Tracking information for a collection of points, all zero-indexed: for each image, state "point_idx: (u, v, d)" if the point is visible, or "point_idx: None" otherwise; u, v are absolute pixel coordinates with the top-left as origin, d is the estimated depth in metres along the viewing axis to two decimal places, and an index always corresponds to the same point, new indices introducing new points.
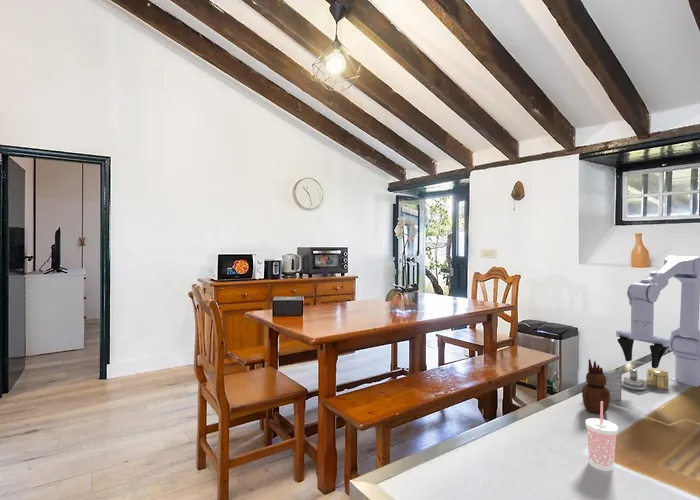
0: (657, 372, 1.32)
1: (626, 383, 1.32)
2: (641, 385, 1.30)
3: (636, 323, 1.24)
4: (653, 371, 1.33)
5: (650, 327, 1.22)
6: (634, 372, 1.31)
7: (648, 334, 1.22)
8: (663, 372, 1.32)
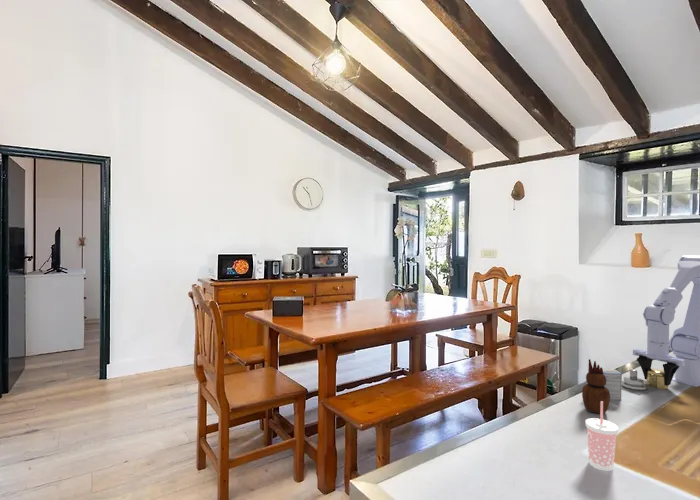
0: (657, 372, 1.32)
1: (626, 383, 1.32)
2: (641, 385, 1.30)
3: (652, 343, 1.32)
4: (653, 371, 1.33)
5: (666, 348, 1.30)
6: (634, 372, 1.31)
7: (664, 353, 1.30)
8: (663, 372, 1.32)
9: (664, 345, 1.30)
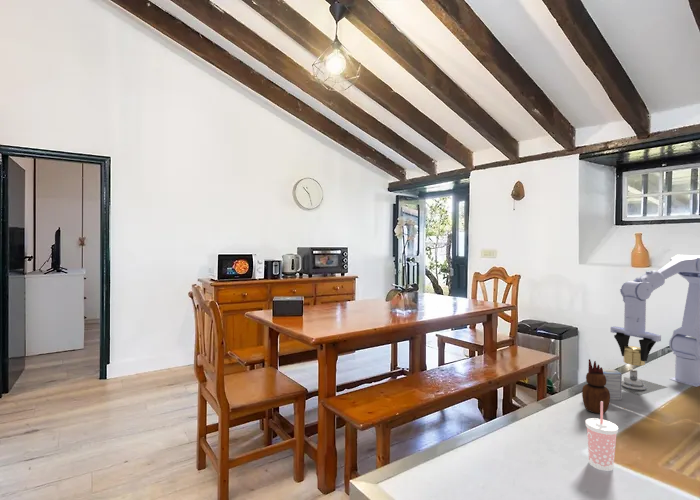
0: (633, 349, 1.31)
1: (626, 383, 1.32)
2: (641, 385, 1.30)
3: (629, 319, 1.31)
4: (630, 348, 1.32)
5: (642, 323, 1.29)
6: (634, 372, 1.31)
7: (641, 329, 1.29)
8: (640, 349, 1.31)
9: (640, 321, 1.29)
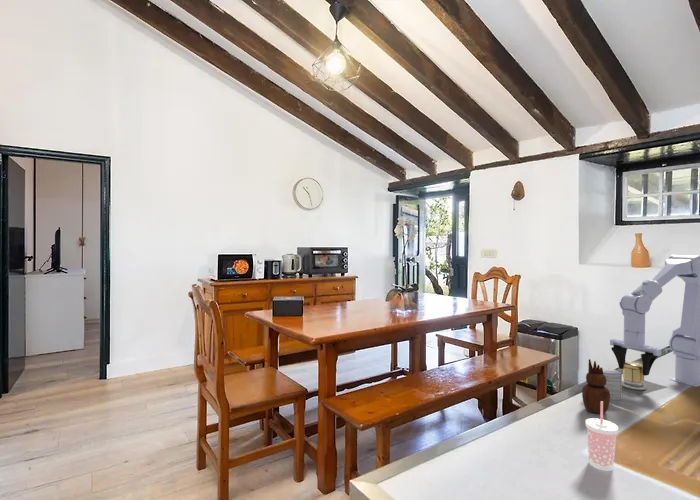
0: (633, 365, 1.31)
1: (626, 383, 1.32)
2: (641, 385, 1.30)
3: (628, 333, 1.31)
4: (629, 364, 1.32)
5: (641, 337, 1.29)
6: None
7: (640, 343, 1.29)
8: (639, 365, 1.31)
9: (640, 334, 1.29)
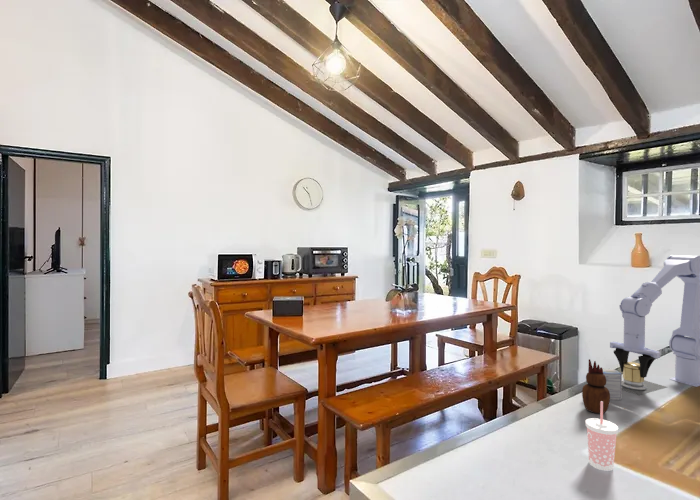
0: (633, 365, 1.31)
1: (626, 383, 1.32)
2: (641, 385, 1.30)
3: (628, 335, 1.31)
4: (629, 364, 1.32)
5: (641, 340, 1.29)
6: None
7: (640, 346, 1.29)
8: (639, 365, 1.31)
9: (640, 337, 1.29)
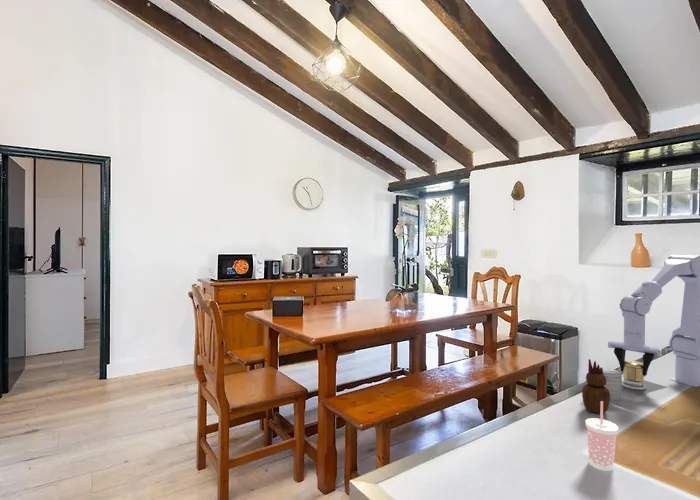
0: (638, 364, 1.31)
1: (626, 383, 1.32)
2: (641, 385, 1.30)
3: (631, 335, 1.30)
4: (635, 364, 1.31)
5: (643, 338, 1.29)
6: None
7: (642, 344, 1.29)
8: (637, 362, 1.33)
9: (642, 336, 1.29)
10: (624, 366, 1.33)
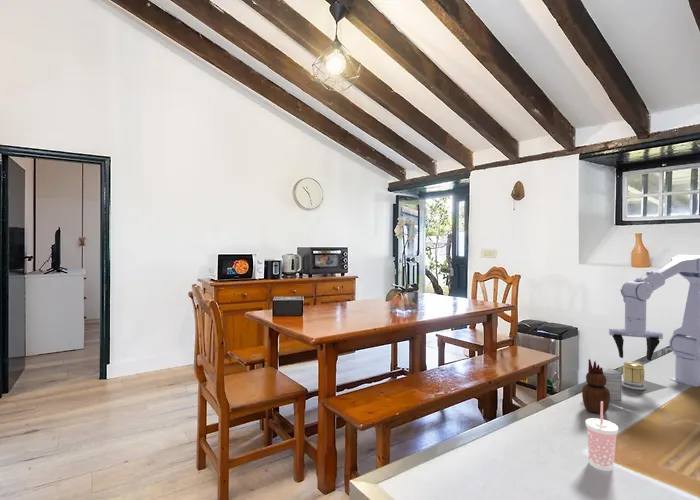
0: (639, 365, 1.31)
1: (626, 383, 1.32)
2: (641, 385, 1.30)
3: (637, 320, 1.30)
4: (637, 366, 1.31)
5: (645, 323, 1.30)
6: None
7: (645, 329, 1.30)
8: (635, 363, 1.33)
9: (645, 320, 1.30)
10: (627, 369, 1.31)
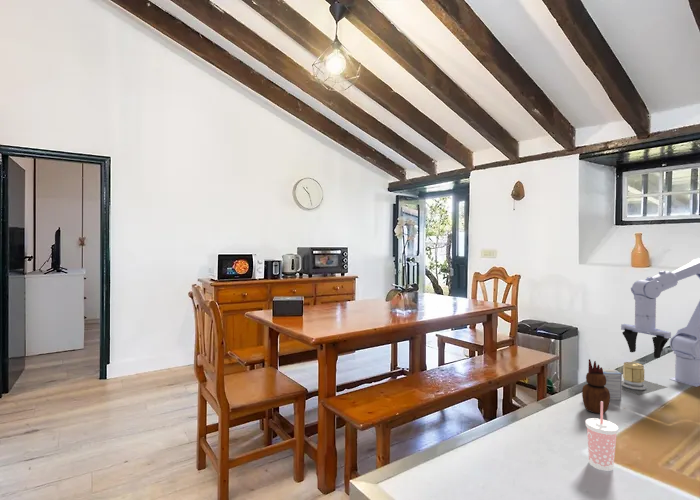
0: (639, 365, 1.31)
1: (626, 383, 1.32)
2: (641, 385, 1.30)
3: (640, 317, 1.35)
4: (637, 366, 1.31)
5: (652, 321, 1.33)
6: None
7: (651, 326, 1.33)
8: (635, 363, 1.33)
9: (651, 318, 1.33)
10: (627, 369, 1.31)
